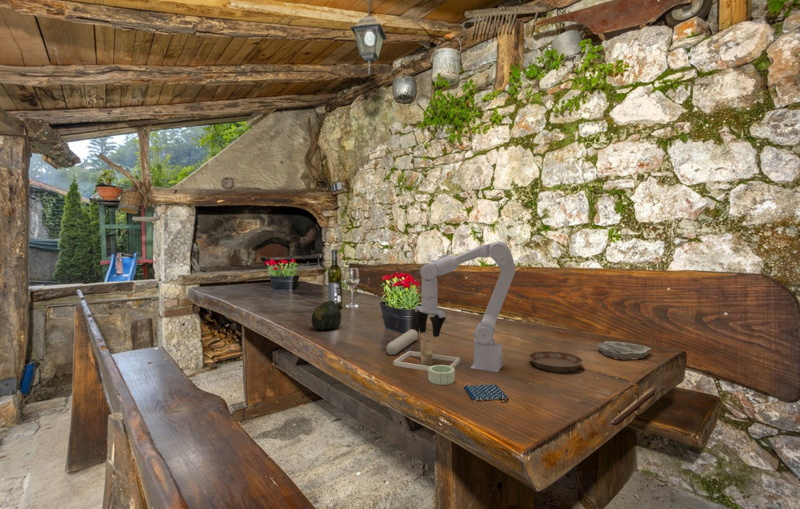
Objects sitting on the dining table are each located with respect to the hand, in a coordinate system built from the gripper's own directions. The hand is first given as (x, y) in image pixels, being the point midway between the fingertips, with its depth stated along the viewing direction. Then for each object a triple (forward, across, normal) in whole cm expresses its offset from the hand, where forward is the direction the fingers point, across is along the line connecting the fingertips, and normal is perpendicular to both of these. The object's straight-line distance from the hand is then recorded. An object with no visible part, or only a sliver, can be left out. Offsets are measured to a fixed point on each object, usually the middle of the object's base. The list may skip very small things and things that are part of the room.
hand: (429, 334), depth 139 cm
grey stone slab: (+11, +34, +68) cm, 77 cm away
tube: (+11, -22, +4) cm, 25 cm away
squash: (+11, -71, -8) cm, 72 cm away
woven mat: (+11, +32, -6) cm, 34 cm away
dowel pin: (+10, +2, -2) cm, 10 cm away
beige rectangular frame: (+10, +2, -2) cm, 11 cm away
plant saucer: (+11, +28, +34) cm, 46 cm away
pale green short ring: (+10, +17, -9) cm, 21 cm away
